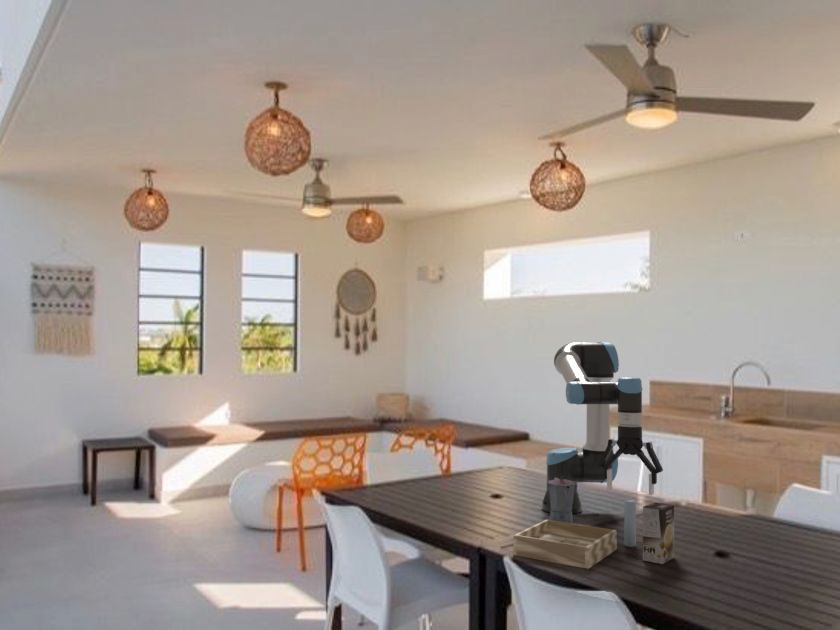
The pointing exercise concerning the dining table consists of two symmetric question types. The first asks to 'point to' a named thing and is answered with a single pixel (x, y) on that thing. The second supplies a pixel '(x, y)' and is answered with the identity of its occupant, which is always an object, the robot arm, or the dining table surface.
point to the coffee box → (658, 532)
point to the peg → (630, 523)
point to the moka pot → (561, 499)
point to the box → (565, 543)
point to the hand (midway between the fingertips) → (630, 491)
